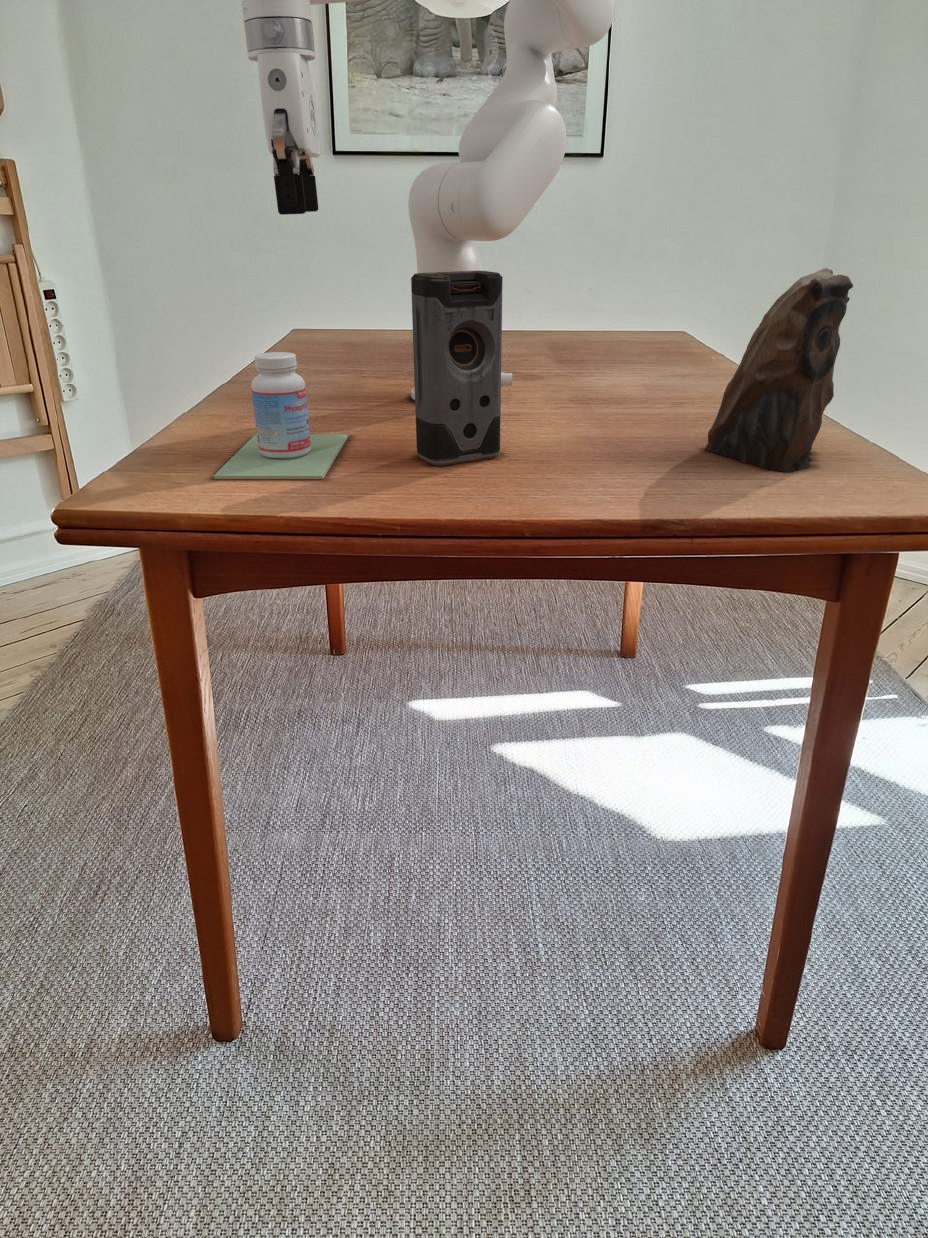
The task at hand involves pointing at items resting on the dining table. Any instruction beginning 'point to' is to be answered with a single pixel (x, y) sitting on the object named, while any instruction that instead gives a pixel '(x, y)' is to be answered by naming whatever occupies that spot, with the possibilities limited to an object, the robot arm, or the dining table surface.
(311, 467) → the side mat
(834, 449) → the dining table surface
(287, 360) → the pill bottle
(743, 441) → the owl
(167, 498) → the dining table surface
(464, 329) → the electronic device
